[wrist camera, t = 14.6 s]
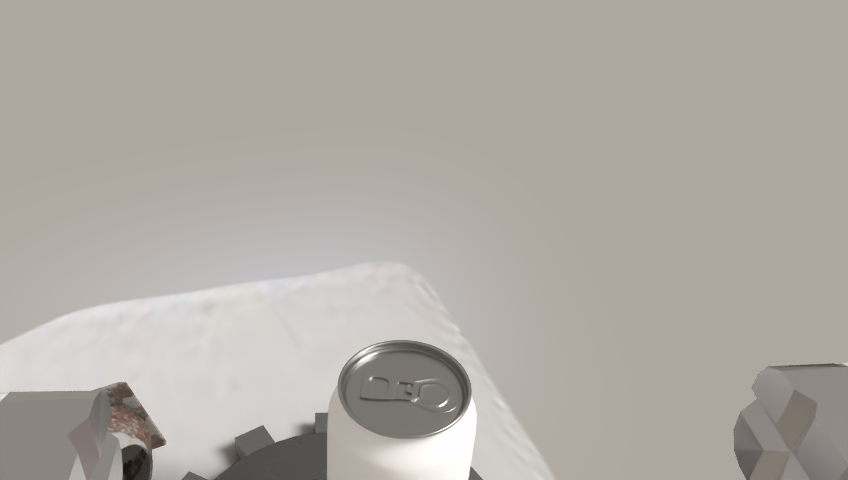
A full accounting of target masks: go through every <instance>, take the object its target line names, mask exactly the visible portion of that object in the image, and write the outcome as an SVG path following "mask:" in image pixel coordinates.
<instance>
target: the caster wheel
mask: <svg viewBox="0 0 848 480" xmlns="http://www.w3.org/2000/svg"><path fill="white" fill-rule="evenodd" d="M92 391H102V392H105V393H107V396H108V400H109V403H110V407H111V410H112V416H111V420H110V423H109V427H108V432H110V433H111V434H113V435H114V436H115V437H117V438H118V439H119V443H120V448H121V452H122V465H123V477H122V480H151V476H152V468H153V461H152V449H155V448H158V447H161V446H164V445H166V440H165V439H164V437H163V436H162V434H161V433H160V431H159V430H158V429H157V427H156V426H155V424H154V423H153V421H152V420H151V418H150V417H149V415H148V414H147V412H146V411H145V409H144V408H143V407H142V405H141V404H140V402H139V401H138V399H137V398H136V396H135V395H134V393H133V392H132V390H131V389H130V387H129V386H128V385H127V383H126V382H119V383H115V384H112V385H108V386H105V387H102V388H99V389H95V390H92Z"/></svg>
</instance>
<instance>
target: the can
mask: <svg viewBox="0 0 848 480" xmlns="http://www.w3.org/2000/svg"><path fill="white" fill-rule="evenodd" d="M471 392H472V391H471V383H470V380H469V377H468V375H467V373H466V371H465V370H464V368H463V367H462V366H461V364H460V363H459V362H458V361H457V360H456V359H455V358H453V357H452V356H451V355H449V354H448V353H446V352H445V351H443V350H441V349H439V348H437V347H435V346H432V345H429V344H426V343H422V342H417V341H409V340H393V341H386V342H381V343H377V344H374V345H371V346H369V347H367V348H365V349H363V350H361V351H359V352H358V353H356V354H355V355H354V356H353V357H352V358H351V359H350V360H349V361H348V362H347V363H346V364H345V366H344V367H343V369H342V371H341V373H340V376H339V380H338V385H337V387H336V389H335V390H334V392H333V395H332V397H331V400H330V403H329V409H328V424H327V480H468V478H469V472H470V466H471V459H472V453H473V446H474V440H475V432H476V408H475V404H474V401H473V399H472V396H471Z"/></svg>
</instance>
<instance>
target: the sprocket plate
mask: <svg viewBox="0 0 848 480" xmlns="http://www.w3.org/2000/svg"><path fill="white" fill-rule="evenodd" d="M327 424H328V413H315V433H312V434H307V435H301V436H296V437H292V438H289V439H285V440H282V441H279V442H276V443H275V442H274V440H273V439H272V437H271V436H270V435H269V433H268V432H267V430H266V429H265V427H264V426H263V425H262V426H260V427H258V428H256V429H254V430H251V431H249V432H247V433H245V434H242V435H240V436H238V437H236V438H235V446H236V452H237V454H238V455H239V457H240V459H241V460H240V461H238V462H237V463H235V464H234V465H232V466H231V467H229V468H228V469H227V470H226V471H224V472H223V473H222V474H221V475H220V476H219V477H217V478H216V479H215V480H327ZM182 480H207V479H205V478H202V477H200V476H198V475H196V474H194V473H192V472H188V473H187V474H186V475H185V477H184V478H183V479H182ZM468 480H483V479H482V478H481V477H480V476H479V475H478V474H477V473H476V472H475V470H474V469H473V468H472V467H471V466H470V472H469V478H468Z"/></svg>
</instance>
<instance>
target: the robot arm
mask: <svg viewBox="0 0 848 480" xmlns="http://www.w3.org/2000/svg"><path fill="white" fill-rule="evenodd" d="M752 390H753V392H754V394H755V396H756V398H757V399H756V400H755V401H754V402H752V403H751V404H750V405H749V406H747V407H746V408H745V409H743V410H742V411H741V413H740V415H739V417H738V420H737V422H736V425H735V428H734V451H735V454H736V457H737V460H738V464H739V466H740V468H741V470H742V472H743V474H744V476H745V478H746V480H848V363H840V364H834V363H832V364H810V365H789V366H768V367H766V368H765V369H764V370H762V371H761V372H760V373H759V374H758V375H757V378H756V379H755V382H754V384H753V386H752ZM111 416H112V410H111V407H110V403H109V400H108V396H107V393H105V392H102V391H53V392H10V393H0V480H122V477H123V465H122V452H121V448H120V443H119V439H118V438H117V437H115V436H114V435H113V434H111V433H110V432H108V427H109V423H110V420H111Z"/></svg>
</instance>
